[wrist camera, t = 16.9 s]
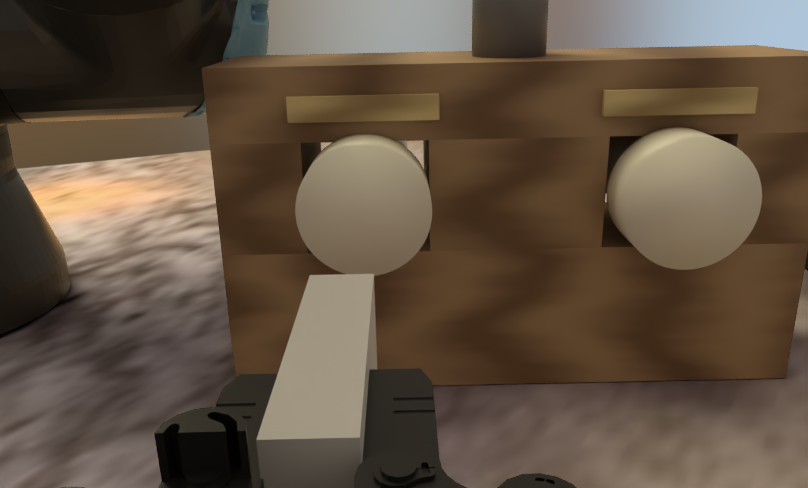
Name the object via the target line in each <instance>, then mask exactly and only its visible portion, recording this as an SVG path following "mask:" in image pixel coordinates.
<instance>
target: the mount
mask: <svg viewBox="0 0 808 488" xmlns="http://www.w3.org/2000/svg"><path fill="white" fill-rule="evenodd" d="M201 69H202V78H203V87H204V96H205V105H206V114H207V123H208V132H209V141H210V151H211V160H212V169H213V178H214V187H215V196H216V205H217V214H218V223H219V232H220V241H221V250H222V259H223V268H224V278H225V287H226V296H227V305H228V314H229V323H230V332H231V341H232V350H233V359H234V368H235V377H238V376H239V375H240V374H276V373H278V371H279V368H280V365H281V362H282V359H283V356H284V353H285V350H286V347H287V344H288V341H289V338H290V335H291V331H292V328H293V325H294V322H295V319H296V316H297V313H298V310H299V307H300V304H301V301H302V298H303V295H304V291H305V288H306V285H307V282H308V279H309V276H310V275H338V274H345V273H341V272H339V271H336V270H334V269H332V268H330V267H329V266H327V265H325V264H324V263H323V262H321V261H320V260H319V259H318V258H316V257H315V256H314V255H313V254H312V252H311V251H310V250H309V249H308V247H307V246H306V244H305V243H304V241H303V239H302V237H301V235H300V232H299V230H298V226H297V222H296V215H295V204H296V197H297V193H298V190H299V187H300V185H301V182H302V180H303V178H304V177H305V175H306V173H307V171H308V169H309V167H310V166H311V164H312V162H313V161H314V159H315V158H316V157H317V156H318V154H319V153H320V152H321V143H320V142H335V141H337V140H338V139H341V138H343V137H346V136H350V135H354V134H376V135H382V136H385V137H388V138H390V139H393V140H395V141H412V140H424V171H425V174H426V177H427V180H428V184H429V190H430V196H431V202H432V222H431V227H430V230H429V233H428V236H427V238H426V240H425V242H424V244H423V245H422V247H421V248H420V250H419V251H418V252H417V253H416V255H415V256H414V257H413V258H412V259H410V260H409V261H408V262H407V263H406V264H404V265H403V266H401V267H399V268H397V269H395V270H393V271H391V272H388V273H385V274H382V275H377V276H374V291H375V318H376V346H377V369H413V368H420V369H421V370H422V371H423V372H424V373H425V374H426V375H427V376H428V378H429V379H430V380H431V381H432V385H480V384H527V383H574V382H622V381H669V380H717V379H764V378H785V376H786V370H787V365H788V359H789V354H790V348H791V342H792V337H793V331H794V325H795V320H796V314H797V308H798V303H799V297H800V292H801V286H802V280H803V275H804V269H805V263H806V258H807V252H808V51H802V50H793V49H784V48H775V47H766V46H758V45H749V46H748V45H746V46H702V47H701V46H700V47H699V46H697V47H654V48H653V47H649V48H600V49H555V50H554V49H552V50H546V56H542V57H532V58H479V57H473V56H472V51H456V52H409V53H408V52H407V53H363V54H362V53H359V54H312V55H311V54H310V55H262V56H238V57H235V58H232V59H229V60H226V61H223V62H220V63H217V64H213V65H210V66H207V67H204V68H201ZM671 127H686V128H691V129H695V130H698V131H701V132H703V133H706V134H708V135H711V136H713V137H715V138H718V139H720V140H722V141H725V142H727V143H729V144H731V145H733V146H735V147H737V148H738V149H739V150H741V151H742V152H743V153H744V154H745V155H746V156H747V157H748V158H749V159H750V160H751V162H752V163H753V164H754V166H755V168H756V170H757V172H758V175H759V178H760V181H761V186H762V204H761V209H760V213H759V216H758V219H757V222H756V224H755V226H754V228H753V230H752V231H751V233H750V234H749V236H748V237H747V238H746V240H745V241H744V242H743V243H742V244H741V245H740V246H739V247H738V248H737V249H736V250H735V251H734V252H732V253H731V254H730V255H728V256H727V257H725V258H724V259H722V260H720V261H718V262H716V263H714V264H712V265H709V266H706V267H702V268H697V269H690V270H677V269H671V268H666V267H663V266H660V265H658V264H656V263H654V262H652V261H650V260H649V259H647V258H646V257H645V256H644V255H642V254H641V253H640V252H639V251H638V250H637V249H636V248H635V247H634V246H633V245H632V244H631V243H630V242H629V241H628V239H627V238H626V237H625V236H624V235H623V234H622V233H621V232H620V231H619V230H618V229H617V227H616V226H615V224H614V223H613V221H612V219H611V216H610V214H609V210H608V206H607V202H605V193H606V180H607V167H608V154H609V141H610V136H645V135H647V134H649V133H651V132H654V131H657V130H660V129H664V128H671Z"/></svg>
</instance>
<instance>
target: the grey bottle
mask: <svg viewBox="0 0 808 488" xmlns="http://www.w3.org/2000/svg"><path fill="white" fill-rule="evenodd" d="M472 9H473V12H472V13H473V14H472V56H473V57H479V58H532V57H542V56H546V42H547V20H548V0H473V8H472Z"/></svg>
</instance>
